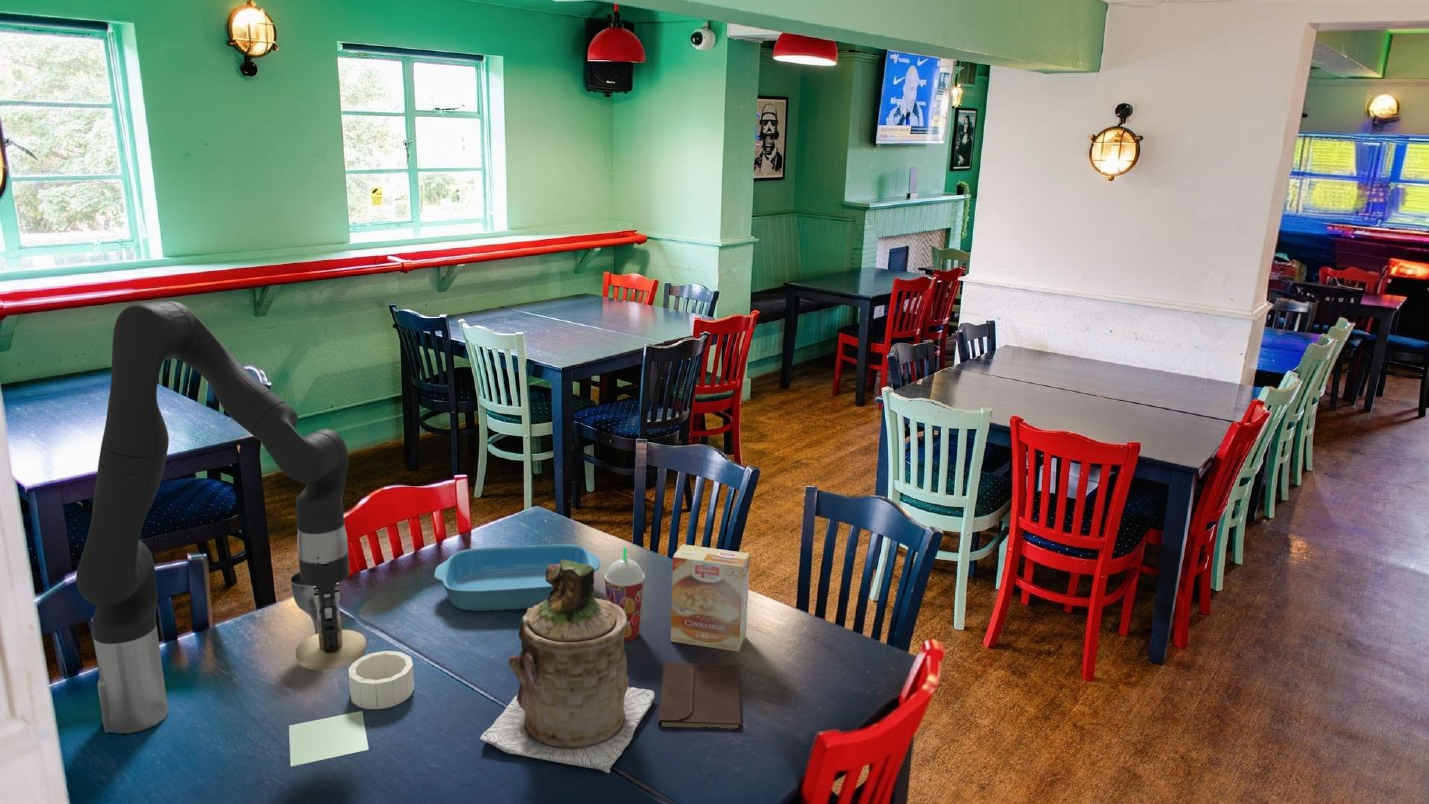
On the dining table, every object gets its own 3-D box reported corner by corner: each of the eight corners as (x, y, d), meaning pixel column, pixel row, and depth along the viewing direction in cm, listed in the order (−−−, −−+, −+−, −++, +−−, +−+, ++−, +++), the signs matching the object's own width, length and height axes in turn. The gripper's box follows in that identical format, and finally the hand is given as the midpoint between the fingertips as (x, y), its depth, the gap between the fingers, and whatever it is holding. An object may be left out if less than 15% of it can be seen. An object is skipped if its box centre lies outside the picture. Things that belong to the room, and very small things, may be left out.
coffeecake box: (669, 642, 198) (671, 556, 193) (678, 626, 204) (681, 542, 199) (739, 653, 194) (743, 566, 189) (746, 636, 201) (750, 552, 196)
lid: (296, 675, 153) (293, 640, 151) (295, 642, 162) (292, 609, 161) (368, 662, 157) (366, 629, 155) (363, 631, 167) (361, 599, 165)
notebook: (738, 671, 188) (738, 662, 188) (741, 731, 169) (742, 721, 169) (663, 669, 188) (663, 660, 188) (657, 728, 169) (658, 719, 169)
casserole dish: (431, 621, 203) (429, 591, 201) (440, 575, 224) (439, 547, 222) (603, 611, 210) (603, 582, 208) (596, 568, 231) (596, 541, 229)
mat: (291, 770, 154) (290, 766, 154) (289, 729, 164) (288, 725, 164) (368, 753, 159) (368, 749, 159) (362, 714, 169) (362, 710, 169)
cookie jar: (659, 698, 178) (662, 541, 169) (611, 779, 155) (612, 602, 146) (538, 675, 184) (536, 522, 175) (475, 750, 161) (469, 578, 152)
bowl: (353, 718, 168) (351, 688, 167) (348, 686, 178) (346, 657, 176) (417, 705, 173) (416, 676, 171) (409, 674, 182) (408, 646, 181)
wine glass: (310, 658, 187) (304, 589, 183) (289, 644, 191) (282, 577, 187) (346, 642, 193) (341, 575, 189) (325, 629, 198) (319, 564, 194)
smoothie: (646, 626, 203) (648, 541, 198) (640, 646, 195) (641, 557, 190) (608, 623, 204) (609, 538, 199) (600, 643, 196) (600, 554, 191)
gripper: (297, 537, 159) (306, 629, 164) (298, 572, 147) (307, 670, 152) (345, 532, 162) (352, 622, 167) (350, 565, 150) (357, 662, 154)
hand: (331, 644), depth 159 cm, fingers closed on lid, 3 cm apart
